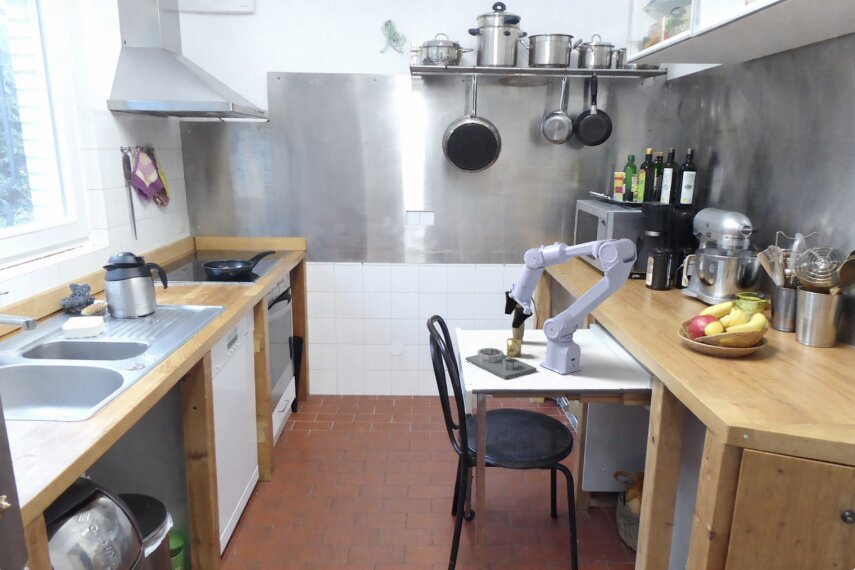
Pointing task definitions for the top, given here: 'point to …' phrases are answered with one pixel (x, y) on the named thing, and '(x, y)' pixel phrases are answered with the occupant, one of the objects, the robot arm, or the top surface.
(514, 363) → the narrow collar
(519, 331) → the handle
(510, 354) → the brass peg
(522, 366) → the board
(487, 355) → the wide collar
